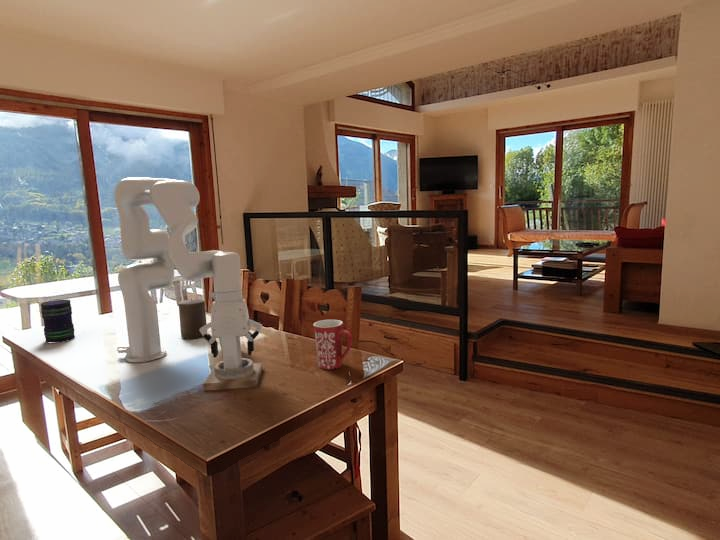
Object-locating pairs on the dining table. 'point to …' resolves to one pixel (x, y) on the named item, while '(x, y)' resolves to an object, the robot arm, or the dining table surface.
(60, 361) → the dining table surface
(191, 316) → the pillar candle
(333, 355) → the mug
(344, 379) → the dining table surface
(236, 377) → the ring stand
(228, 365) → the skincare box
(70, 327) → the storage jar
